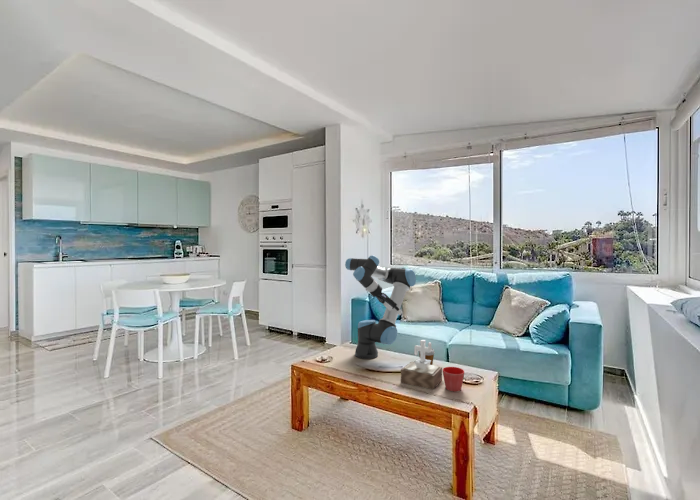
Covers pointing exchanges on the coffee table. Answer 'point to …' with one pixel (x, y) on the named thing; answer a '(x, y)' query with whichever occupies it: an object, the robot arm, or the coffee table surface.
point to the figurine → (422, 355)
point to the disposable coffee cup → (429, 356)
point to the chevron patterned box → (421, 375)
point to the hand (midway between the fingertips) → (396, 311)
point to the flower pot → (453, 378)
